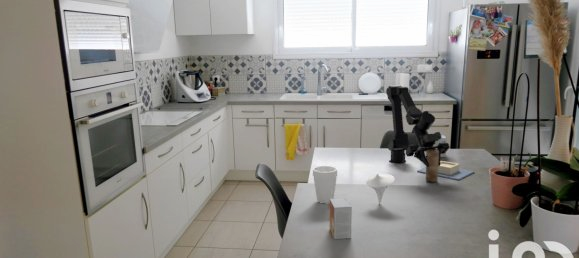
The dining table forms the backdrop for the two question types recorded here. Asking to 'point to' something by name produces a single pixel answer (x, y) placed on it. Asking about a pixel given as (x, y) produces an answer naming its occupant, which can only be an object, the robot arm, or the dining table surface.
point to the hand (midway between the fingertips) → (433, 165)
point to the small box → (340, 218)
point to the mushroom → (380, 183)
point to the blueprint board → (454, 176)
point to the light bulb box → (442, 140)
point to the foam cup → (325, 182)
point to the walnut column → (432, 165)
